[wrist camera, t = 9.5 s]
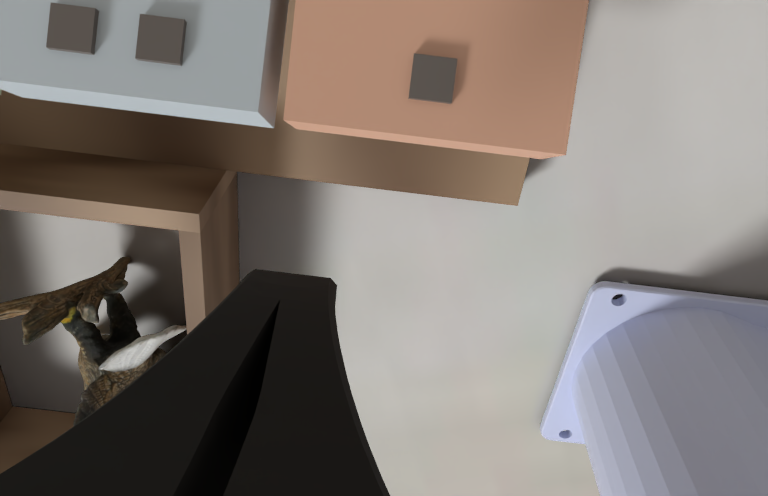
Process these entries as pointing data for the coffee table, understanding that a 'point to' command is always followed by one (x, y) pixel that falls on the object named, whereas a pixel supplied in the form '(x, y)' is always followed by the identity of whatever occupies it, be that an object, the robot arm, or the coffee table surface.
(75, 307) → the eagle figurine
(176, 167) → the board
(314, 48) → the tile
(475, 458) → the coffee table surface
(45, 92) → the tile
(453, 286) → the coffee table surface
